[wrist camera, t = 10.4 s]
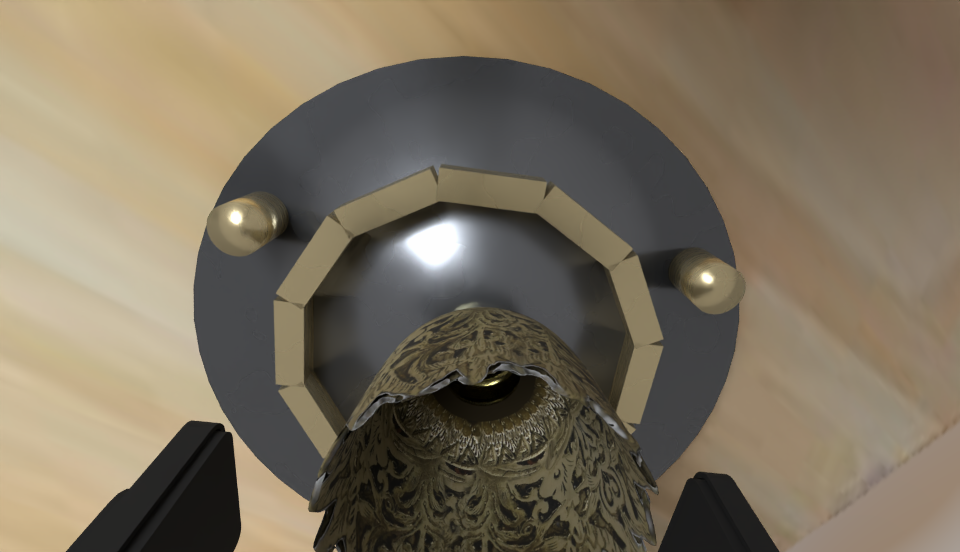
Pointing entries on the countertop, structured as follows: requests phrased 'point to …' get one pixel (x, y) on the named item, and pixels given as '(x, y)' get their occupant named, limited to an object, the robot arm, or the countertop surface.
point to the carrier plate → (461, 251)
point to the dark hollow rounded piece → (484, 450)
